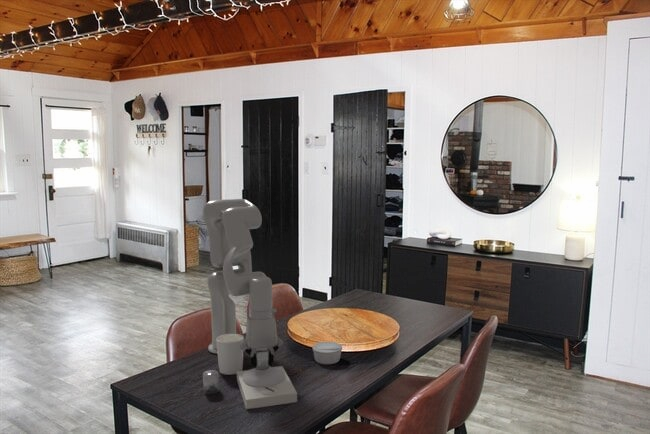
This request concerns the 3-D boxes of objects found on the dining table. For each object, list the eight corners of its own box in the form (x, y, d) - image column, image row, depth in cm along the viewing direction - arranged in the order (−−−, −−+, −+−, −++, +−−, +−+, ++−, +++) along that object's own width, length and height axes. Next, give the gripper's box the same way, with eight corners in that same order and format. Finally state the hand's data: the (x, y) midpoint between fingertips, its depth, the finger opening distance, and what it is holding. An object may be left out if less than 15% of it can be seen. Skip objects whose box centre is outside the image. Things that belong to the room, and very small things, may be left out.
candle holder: (218, 377, 183) (217, 344, 182) (216, 366, 192) (215, 334, 191) (246, 374, 186) (245, 341, 184) (243, 363, 195) (242, 332, 194)
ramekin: (325, 368, 191) (325, 354, 190) (306, 359, 199) (306, 345, 199) (348, 360, 198) (348, 347, 197) (329, 352, 206) (329, 339, 206)
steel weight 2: (253, 365, 179) (253, 348, 179) (268, 363, 181) (267, 346, 180) (256, 371, 175) (255, 353, 174) (270, 369, 176) (270, 352, 175)
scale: (236, 379, 181) (236, 368, 180) (282, 374, 185) (282, 363, 185) (246, 409, 160) (245, 396, 159) (297, 402, 164) (297, 389, 164)
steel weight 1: (202, 389, 174) (201, 371, 173) (217, 385, 176) (216, 368, 175) (205, 395, 169) (204, 377, 168) (220, 392, 171) (219, 374, 170)
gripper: (283, 308, 182) (284, 359, 184) (234, 312, 177) (235, 364, 179) (288, 314, 174) (289, 367, 177) (236, 319, 170) (238, 373, 172)
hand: (262, 365), depth 178 cm, fingers closed on steel weight 2, 5 cm apart
